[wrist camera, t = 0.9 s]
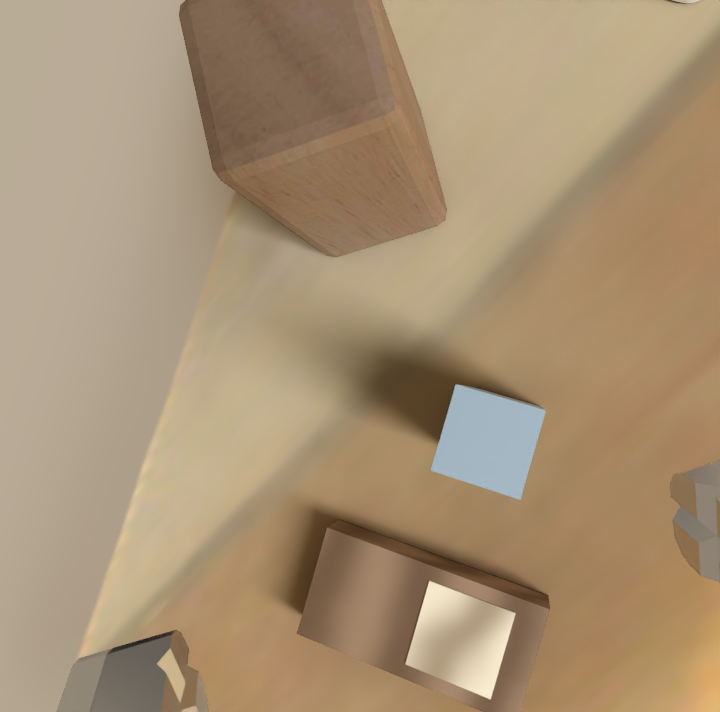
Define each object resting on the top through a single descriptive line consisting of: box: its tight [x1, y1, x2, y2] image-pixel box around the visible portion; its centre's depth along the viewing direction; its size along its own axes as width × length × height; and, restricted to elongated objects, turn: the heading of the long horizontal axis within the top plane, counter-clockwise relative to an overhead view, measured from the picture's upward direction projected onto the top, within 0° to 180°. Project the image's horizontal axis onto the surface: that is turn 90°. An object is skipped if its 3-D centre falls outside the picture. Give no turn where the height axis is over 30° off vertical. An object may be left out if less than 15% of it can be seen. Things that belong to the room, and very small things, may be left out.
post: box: [431, 384, 546, 500], centre depth 41 cm, size 5×5×12 cm
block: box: [179, 0, 447, 257], centre depth 40 cm, size 10×10×20 cm
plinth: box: [297, 520, 550, 712], centre depth 45 cm, size 16×8×3 cm, turn 73°
